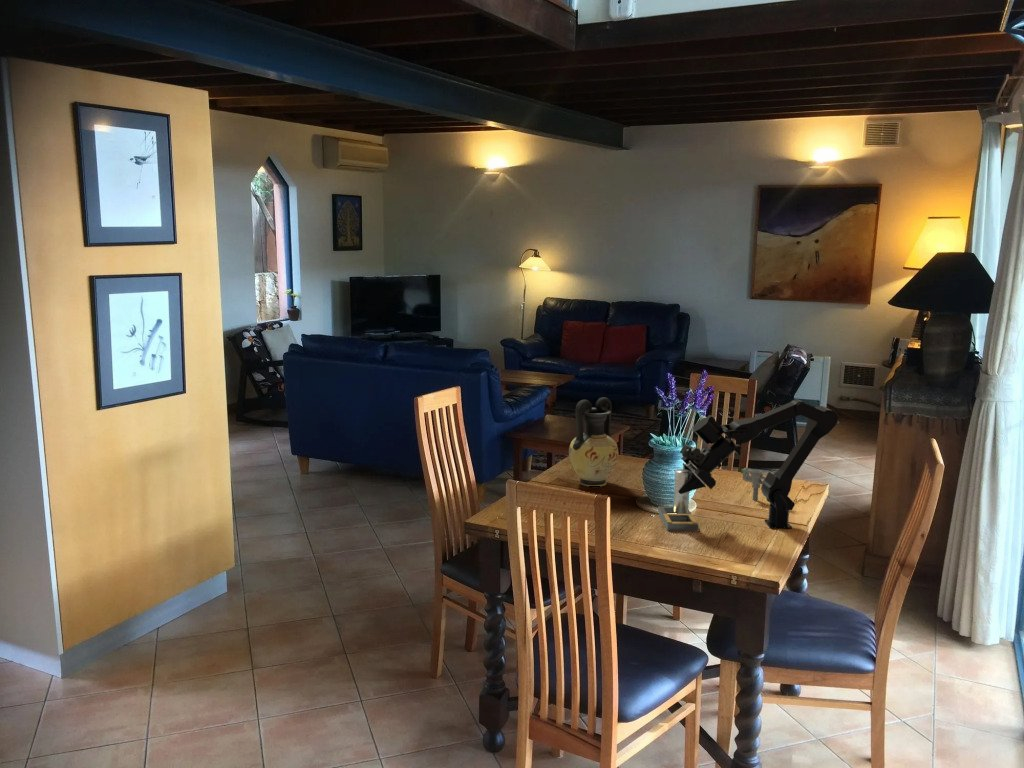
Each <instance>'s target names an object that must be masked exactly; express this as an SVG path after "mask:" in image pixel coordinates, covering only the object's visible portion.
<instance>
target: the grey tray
mask: <svg viewBox="0 0 1024 768" xmlns="http://www.w3.org/2000/svg"><path fill="white" fill-rule="evenodd" d="M673 507H674V506H664V505H663V506H657V513H658V512H659V514H658V515H659V518H660V519H661V522H662V523H663V525H664V527H665V529H666V531H669V532H670V531H671V532H672V531H675V532H679V531H680V532H699V523H698V521H697V520H696V518H695V517H694V515H693V514H692V512H691V511H690V509H689V508H688V513H687V514H667V513H675V512H673Z"/></svg>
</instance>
